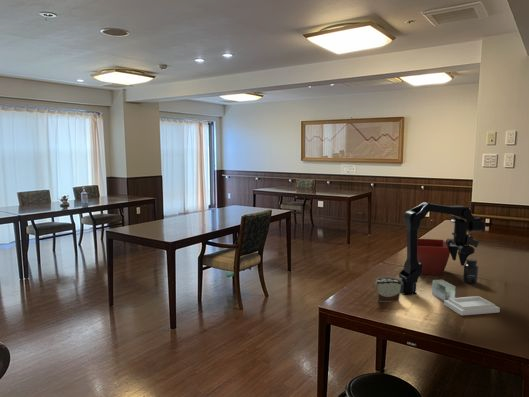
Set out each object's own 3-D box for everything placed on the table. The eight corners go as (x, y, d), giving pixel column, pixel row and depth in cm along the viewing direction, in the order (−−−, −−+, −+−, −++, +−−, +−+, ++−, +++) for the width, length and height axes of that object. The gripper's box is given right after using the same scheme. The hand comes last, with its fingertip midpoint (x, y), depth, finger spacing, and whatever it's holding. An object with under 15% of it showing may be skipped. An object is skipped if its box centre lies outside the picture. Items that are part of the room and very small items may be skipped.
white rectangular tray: (461, 315, 166) (461, 308, 165) (443, 304, 177) (444, 297, 177) (499, 312, 169) (500, 305, 168) (479, 301, 180) (480, 295, 180)
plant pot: (450, 277, 215) (451, 247, 213) (413, 275, 218) (414, 245, 216) (441, 267, 233) (443, 239, 231) (407, 265, 237) (408, 238, 235)
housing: (444, 302, 181) (445, 287, 180) (432, 294, 190) (432, 280, 190) (454, 301, 181) (455, 286, 181) (441, 293, 191) (442, 279, 190)
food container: (397, 296, 188) (397, 276, 186) (401, 301, 182) (402, 280, 180) (371, 296, 187) (371, 276, 186) (375, 301, 181) (375, 280, 180)
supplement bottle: (469, 284, 203) (471, 262, 201) (459, 280, 209) (461, 258, 208) (480, 283, 205) (482, 260, 203) (470, 279, 211) (471, 257, 210)
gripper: (487, 236, 182) (484, 269, 184) (468, 228, 201) (466, 258, 203) (462, 235, 183) (460, 268, 185) (446, 227, 201) (444, 257, 203)
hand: (458, 262), depth 194 cm, fingers open, 9 cm apart
